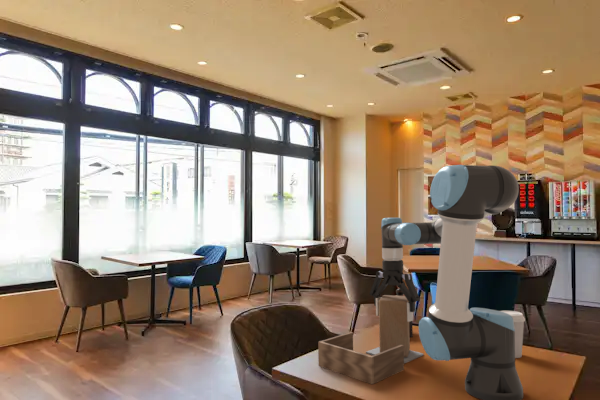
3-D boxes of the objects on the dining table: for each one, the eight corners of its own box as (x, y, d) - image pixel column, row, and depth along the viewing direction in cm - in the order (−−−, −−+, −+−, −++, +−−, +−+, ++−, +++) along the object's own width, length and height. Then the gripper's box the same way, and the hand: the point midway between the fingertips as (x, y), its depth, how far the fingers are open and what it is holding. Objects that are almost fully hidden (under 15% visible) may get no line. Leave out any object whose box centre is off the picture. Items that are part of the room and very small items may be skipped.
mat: (423, 355, 154) (423, 353, 154) (403, 364, 145) (403, 362, 145) (386, 345, 166) (386, 344, 166) (365, 353, 157) (365, 351, 157)
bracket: (404, 369, 139) (403, 345, 140) (372, 384, 128) (371, 357, 128) (351, 354, 156) (350, 332, 156) (318, 365, 144) (318, 341, 145)
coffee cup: (500, 358, 149) (498, 315, 150) (494, 350, 159) (493, 309, 159) (529, 360, 147) (528, 316, 148) (522, 351, 157) (521, 310, 157)
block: (408, 358, 149) (407, 300, 149) (379, 355, 152) (378, 299, 153) (410, 349, 158) (408, 295, 159) (382, 347, 161) (381, 294, 162)
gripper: (428, 260, 150) (430, 321, 149) (371, 257, 168) (373, 311, 167) (416, 262, 145) (418, 325, 144) (359, 258, 163) (360, 314, 162)
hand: (394, 318), depth 155 cm, fingers open, 13 cm apart
